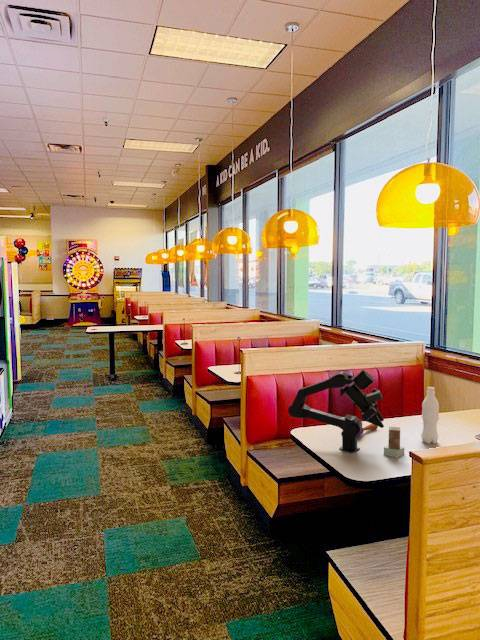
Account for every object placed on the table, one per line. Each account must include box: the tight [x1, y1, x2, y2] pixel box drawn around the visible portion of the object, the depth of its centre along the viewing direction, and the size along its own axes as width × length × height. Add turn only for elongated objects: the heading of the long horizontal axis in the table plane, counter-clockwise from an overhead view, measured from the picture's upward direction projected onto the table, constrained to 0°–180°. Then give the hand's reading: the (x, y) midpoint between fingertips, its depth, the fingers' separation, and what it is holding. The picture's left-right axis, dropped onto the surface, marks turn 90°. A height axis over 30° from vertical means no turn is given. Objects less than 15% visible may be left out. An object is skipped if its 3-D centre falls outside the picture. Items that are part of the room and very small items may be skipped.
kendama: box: [356, 423, 379, 439], centre depth 229 cm, size 6×6×20 cm
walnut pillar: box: [387, 426, 401, 450], centre depth 202 cm, size 4×4×8 cm
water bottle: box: [420, 386, 440, 445], centre depth 216 cm, size 7×7×25 cm
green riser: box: [383, 444, 405, 459], centre depth 203 cm, size 6×6×3 cm
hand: (383, 423), depth 204 cm, fingers open, 9 cm apart
